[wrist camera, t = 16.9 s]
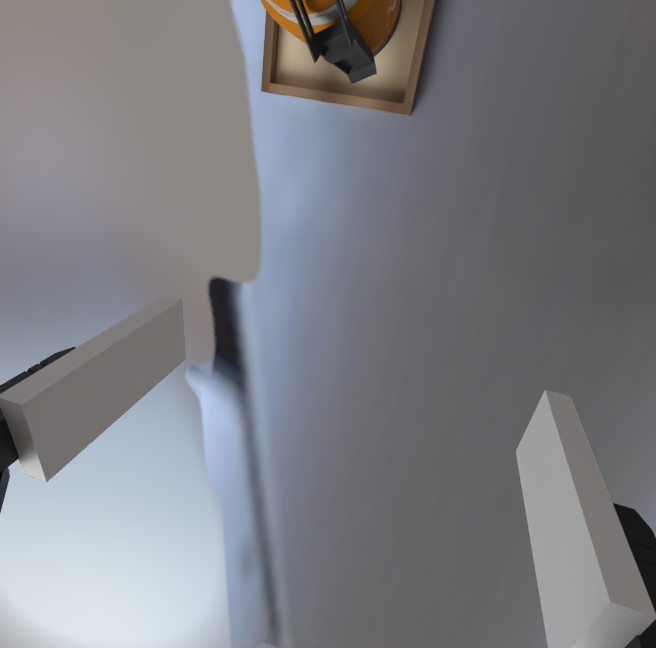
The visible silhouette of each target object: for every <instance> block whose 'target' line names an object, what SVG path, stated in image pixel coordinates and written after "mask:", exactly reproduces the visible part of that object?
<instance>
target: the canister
mask: <svg viewBox="0 0 656 648" xmlns="http://www.w3.org/2000/svg"><path fill="white" fill-rule="evenodd" d="M261 2H262V4H263V5H264V7H265V9H266V10H267V12H268V13H269V14H270V15H271V17H272V18H273V19H274V20H275V21H276V22H277V23H278V24H279V25H280V26H282V27H283V28H284V29H286V30H287V31H288V32H290V33H291V34H292V35H294V36H295V37H297V38H298V39H299V40H301V41H302V42H303V43H305V44H306V45H307V46H308V48H309V51H310V53H311V56H312V58H313V61H314V63H316V62H317V60H318V58H319V56H322V57H323V58H324V60H326V61H327V62H328V63H330V64H333V65H334V66H335V67H337V68H338V69H339V70H341V71H342V72H343V73H345V74H346V75H347V76H348V78H349V80H350V82H351V84H353V83H356V82H358V81H361V80H363V79H365V78H368V77H370V76H373V75H375V74H377V70H376V65H375V60H374V57H375V56H376V55H377V54H378V53H380V52H381V50H382V49H383V48H384V47H385V46H386V45H387V43H388V42H389V41H390V39H391V37H392V36H393V34H394V32H395V30H396V27H397V24H398V22H399V18H400V14H401V7H402V0H261Z"/></svg>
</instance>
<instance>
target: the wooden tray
mask: <svg viewBox="0 0 656 648" xmlns="http://www.w3.org/2000/svg"><path fill="white" fill-rule="evenodd" d="M435 1H436V0H402V7H401V14H400V18H399V22H398V24H397V27H396V30H395V32H394V34H393V36H392V37H391V39H390V41H389V42H388V43H387V45H386V46H385V47H384V48H383V49H382V50H381V52H380V53H378V54H377V55H376V56H375V57H374V60H375V65H376V70H377V74H375V75H373V76H370V77H368V78H365V79H363V80H361V81H358V82H356V83H353V84H351V82H350V80H349V78H348V76H347V75H346V74H345V73H343V72H342V71H341V70H339V69H338V68H337V67H335V66H334V65H333V64H330V63H328V62H327V61H326V60H324V58H323V57H322V56H319V58H318V60H317V62H316V63H314V61H313V58H312V56H311V53H310V51H309V48H308V46H307V45H306V44H305V43H303V42H302V41H301V40H299V39H298V38H297V37H295V36H294V35H292V34H291V33H290V32H288V31H287V30H286V29H284V28H283V27H282V26H280V25H279V24H278V23H277V22H276V21H275V20H274V19H273V18H272V17H271V15H270V14H269V13H268V12H267V10H266V25H265V40H264V56H263V72H262V87H261V91H263V92H267V93H272V94H278V95H284V96H290V97H297V98H303V99H309V100H315V101H322V102H328V103H334V104H340V105H346V106H353V107H359V108H365V109H371V110H377V111H384V112H390V113H396V114H402V115H409V116H411V113H412V109H413V104H414V99H415V95H416V90H417V85H418V81H419V76H420V71H421V67H422V62H423V57H424V53H425V48H426V43H427V39H428V34H429V29H430V25H431V20H432V15H433V11H434V6H435Z"/></svg>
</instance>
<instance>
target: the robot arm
mask: <svg viewBox="0 0 656 648" xmlns="http://www.w3.org/2000/svg"><path fill="white" fill-rule="evenodd" d="M185 359H186V354H185V339H184V324H183V308H182V299H180V298H176V297H172V296H167V295H163V296H161V297H160V298H158V299H156V300H155V301H153V302H152V303H150V304H148V305H147V306H145V307H143V308H142V309H140V310H138V311H137V312H135V313H133V314H132V315H130V316H129V317H127V318H125V319H123V320H122V321H120V322H118V323H117V324H115V325H113V326H112V327H110V328H109V329H107V330H105V331H104V332H102V333H100V334H99V335H97V336H96V337H94V338H92V339H91V340H89V341H87V342H86V343H84V344H82V345H80V346H79V347H77V348H75V347H72V348H70V349H66V350H63V351H61V352H58V353H55V354H53V355H52V356H50V357H48V358H46V359H45V360H43V361H42V362H40V364H36V365H35V366H33V367H31V368H29V369H28V371H27V372H25V371H24V372H23V373H21V374H19V375H17V376H16V377H14V378H12V379H11V380H9V381H7V382H6V383H4V384H2V385H0V512H1V508H2V504H3V501H4V497H5V493H6V489H7V485H8V481H9V477H10V474H9V469H8V466H10V465H11V464H12V463H14V462H15V461H16V460H17V459H19V461H20V464H21V467H22V470H23V473H24V474H26V475H29V476H31V477H34V478H37V479H39V480H42V481H44V482H47V481H49V479H51V478H52V477H53V476H54V475H55V474H56V473H58V472H59V471H60V470H61V469H62V468H63V467H64V466H65V465H67V464H68V463H69V462H70V461H71V460H72V459H73V458H74V457H76V456H77V455H78V454H79V453H80V452H81V451H82V450H83V449H85V448H86V447H87V446H88V445H89V444H90V443H91V442H93V441H94V440H95V439H96V438H97V437H98V436H99V435H100V434H101V433H103V432H104V431H105V430H106V429H107V428H108V427H109V426H111V424H113V423H114V422H115V421H116V420H117V419H119V418H120V417H121V416H122V415H123V414H124V413H125V412H126V411H128V409H130V408H131V407H132V406H133V405H134V404H135V403H137V402H138V401H139V400H140V399H141V398H142V397H143V396H144V395H146V394H147V393H148V392H149V391H150V390H151V389H152V388H153V387H155V386H156V384H158V383H159V382H160V381H161V380H162V379H164V378H165V377H166V376H167V375H168V374H169V373H170V372H171V371H173V370H174V369H175V368H176V367H177V366H178V365H179V364H180V363H182V362H183V361H184V360H185ZM516 455H517V461H518V467H519V474H520V480H521V486H522V492H523V498H524V504H525V510H526V516H527V522H528V528H529V534H530V540H531V546H532V552H533V558H534V565H535V571H536V577H537V583H538V589H539V595H540V601H541V607H542V613H543V619H544V625H545V631H546V637H547V643H548V648H656V538H655V536H654V533H653V531H652V530H651V528H650V527H649V526H648V525H647V524H646V522H645V521H644V520H643V519H642V518H641V516H640V515H639V514H638V513H637V512H636V511H635V509H632V508H628V507H625V506H621V505H618V504H614V503H612V501H611V498H610V495H609V493H608V490H607V488H606V485H605V483H604V480H603V478H602V475H601V473H600V470H599V467H598V465H597V462H596V460H595V457H594V455H593V452H592V450H591V447H590V444H589V442H588V439H587V437H586V434H585V432H584V429H583V427H582V424H581V422H580V419H579V416H578V414H577V411H576V409H575V406H574V404H573V401H572V399H571V396H568V395H564V394H560V393H556V392H552V391H548V390H545V391H544V393H543V395H542V397H541V399H540V402H539V404H538V406H537V408H536V410H535V412H534V414H533V416H532V418H531V421H530V423H529V425H528V427H527V429H526V431H525V433H524V435H523V438H522V440H521V442H520V444H519V446H518V448H517V450H516Z"/></svg>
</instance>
